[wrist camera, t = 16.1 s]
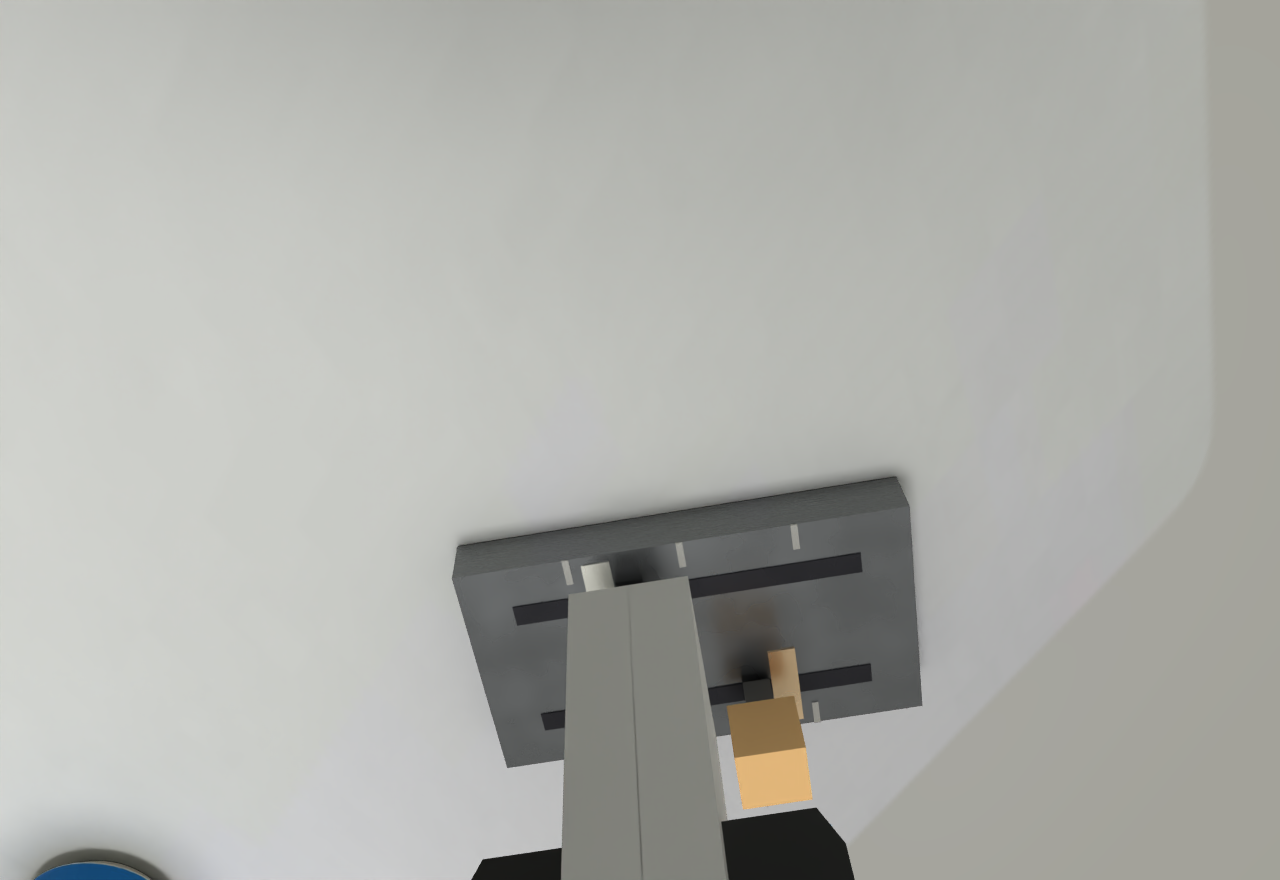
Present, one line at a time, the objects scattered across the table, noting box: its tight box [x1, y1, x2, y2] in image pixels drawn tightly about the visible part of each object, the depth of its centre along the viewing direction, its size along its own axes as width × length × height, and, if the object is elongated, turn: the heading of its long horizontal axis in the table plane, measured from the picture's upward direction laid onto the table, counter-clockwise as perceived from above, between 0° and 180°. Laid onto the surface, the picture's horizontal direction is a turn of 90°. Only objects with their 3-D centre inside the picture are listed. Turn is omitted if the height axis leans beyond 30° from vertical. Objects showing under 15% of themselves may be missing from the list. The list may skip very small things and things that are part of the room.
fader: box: [727, 679, 812, 809], centre depth 42 cm, size 2×2×4 cm
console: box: [452, 477, 922, 768], centre depth 44 cm, size 16×9×2 cm, turn 99°
